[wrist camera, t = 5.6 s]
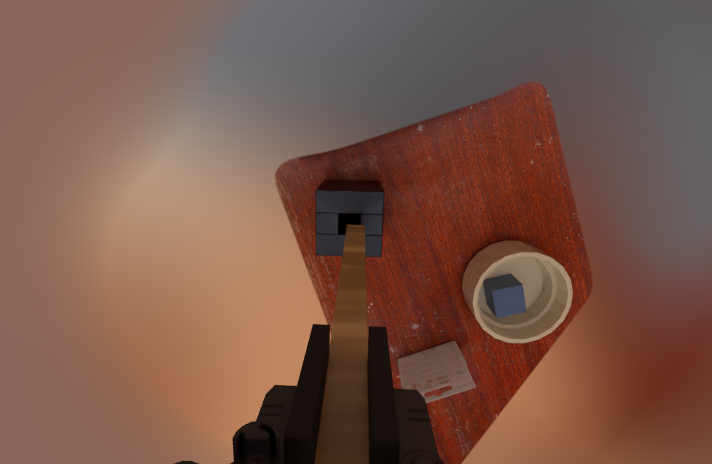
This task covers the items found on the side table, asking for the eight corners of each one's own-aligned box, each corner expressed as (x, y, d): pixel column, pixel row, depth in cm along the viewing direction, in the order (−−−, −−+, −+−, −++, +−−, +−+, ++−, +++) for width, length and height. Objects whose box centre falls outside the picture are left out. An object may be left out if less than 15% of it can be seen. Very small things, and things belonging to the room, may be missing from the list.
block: (482, 279, 53) (491, 290, 49) (511, 273, 53) (522, 284, 49) (486, 305, 54) (496, 318, 50) (514, 299, 54) (526, 312, 50)
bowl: (465, 238, 52) (478, 250, 46) (555, 240, 52) (580, 253, 46) (457, 320, 55) (468, 341, 49) (542, 322, 55) (563, 344, 49)
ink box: (460, 352, 57) (485, 405, 45) (402, 371, 57) (411, 428, 46) (455, 336, 56) (478, 386, 45) (395, 356, 57) (404, 409, 46)
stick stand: (324, 179, 50) (315, 189, 41) (380, 181, 50) (384, 191, 41) (324, 233, 52) (315, 255, 43) (377, 234, 52) (381, 257, 43)
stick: (346, 224, 38) (300, 552, 9) (364, 225, 38) (372, 554, 9) (346, 241, 39) (300, 600, 10) (364, 242, 39) (369, 602, 10)
